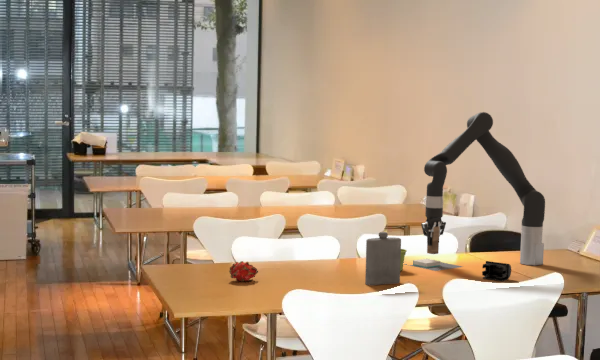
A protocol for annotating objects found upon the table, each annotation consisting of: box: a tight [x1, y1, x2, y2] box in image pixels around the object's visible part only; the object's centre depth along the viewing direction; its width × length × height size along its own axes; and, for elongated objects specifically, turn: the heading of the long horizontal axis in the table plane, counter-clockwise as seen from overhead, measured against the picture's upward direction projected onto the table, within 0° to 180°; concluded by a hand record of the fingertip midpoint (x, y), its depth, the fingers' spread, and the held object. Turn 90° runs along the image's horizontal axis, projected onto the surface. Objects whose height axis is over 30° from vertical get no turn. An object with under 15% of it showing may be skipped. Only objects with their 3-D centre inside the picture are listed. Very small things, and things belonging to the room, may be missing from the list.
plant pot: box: [400, 248, 407, 272], centre depth 354 cm, size 9×9×9 cm
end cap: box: [481, 260, 512, 282], centre depth 340 cm, size 10×7×7 cm
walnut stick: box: [426, 226, 440, 255], centre depth 366 cm, size 4×4×12 cm
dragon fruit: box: [228, 260, 259, 282], centre depth 325 cm, size 8×8×12 cm
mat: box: [404, 261, 463, 272], centre depth 366 cm, size 22×18×1 cm
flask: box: [364, 231, 402, 286], centre depth 325 cm, size 15×6×20 cm, turn 116°
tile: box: [412, 258, 442, 268], centre depth 365 cm, size 8×2×9 cm
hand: (433, 245), depth 366 cm, fingers closed on walnut stick, 3 cm apart
